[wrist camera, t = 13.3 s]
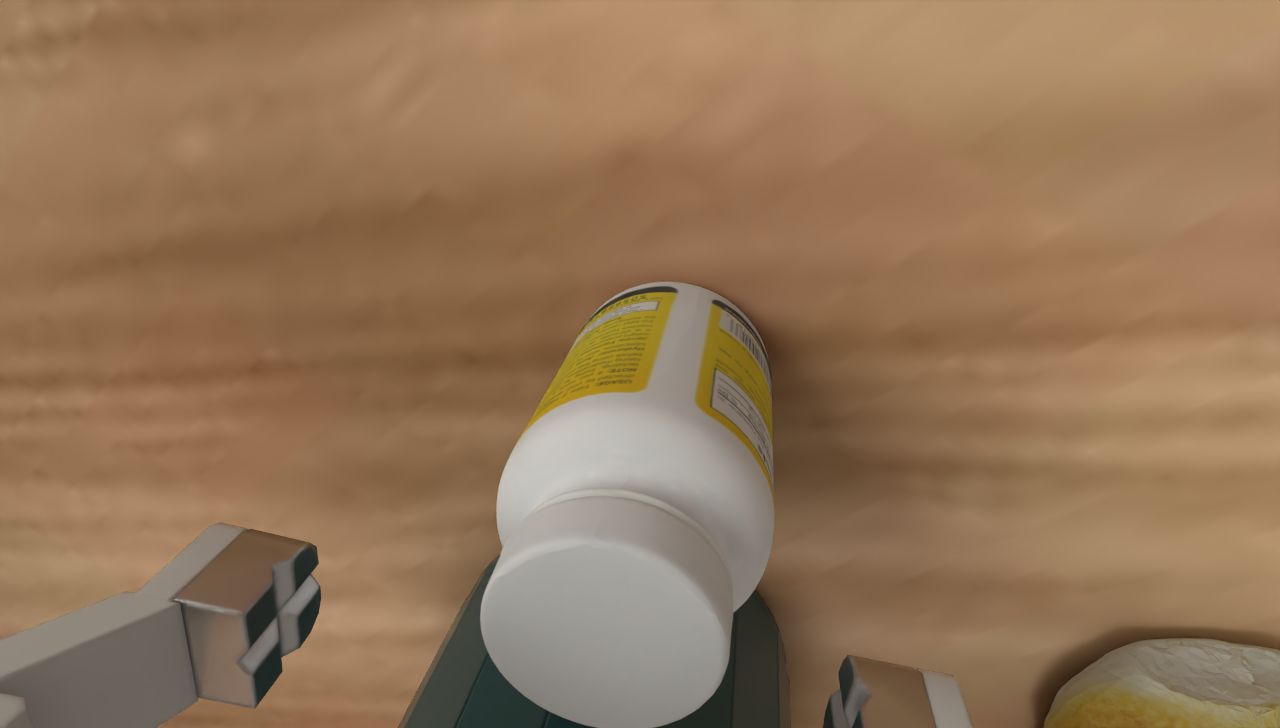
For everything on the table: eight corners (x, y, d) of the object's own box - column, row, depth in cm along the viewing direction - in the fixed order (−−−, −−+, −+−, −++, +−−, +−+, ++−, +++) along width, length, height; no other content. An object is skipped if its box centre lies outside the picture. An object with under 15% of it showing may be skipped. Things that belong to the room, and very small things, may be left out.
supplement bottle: (556, 419, 21) (408, 696, 12) (605, 248, 19) (464, 444, 10) (731, 479, 21) (708, 802, 12) (803, 316, 19) (837, 572, 10)
